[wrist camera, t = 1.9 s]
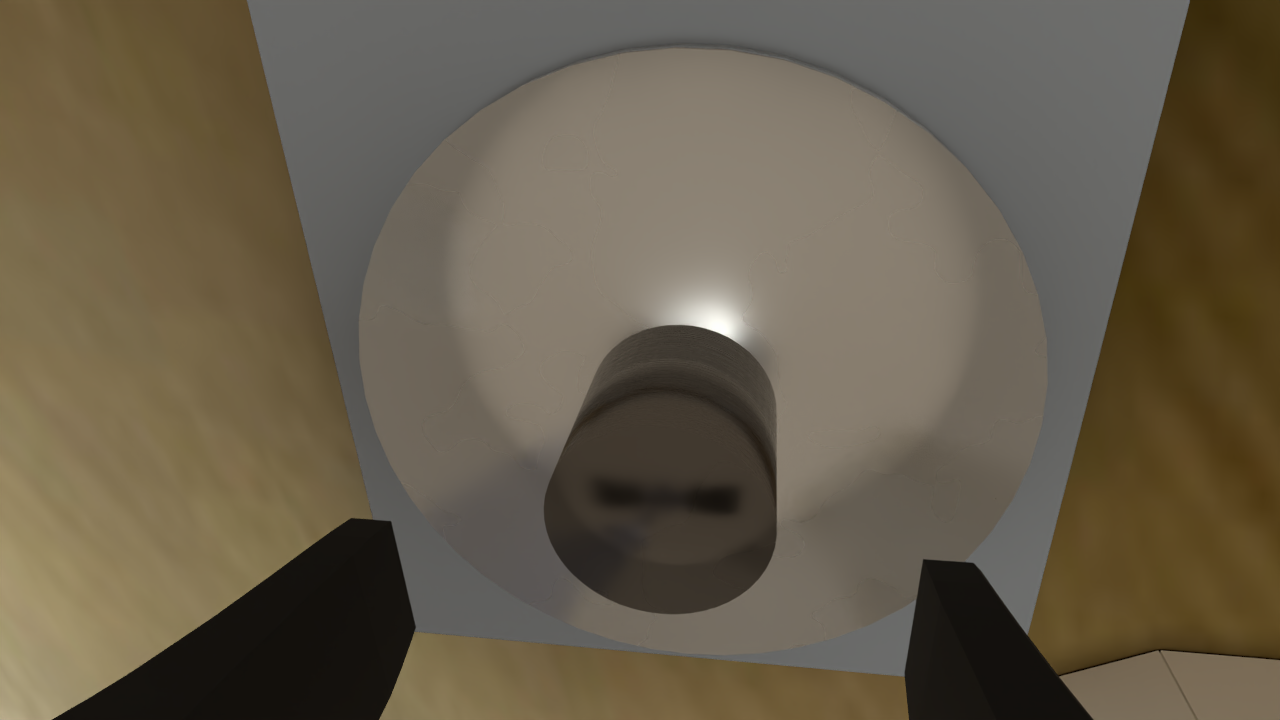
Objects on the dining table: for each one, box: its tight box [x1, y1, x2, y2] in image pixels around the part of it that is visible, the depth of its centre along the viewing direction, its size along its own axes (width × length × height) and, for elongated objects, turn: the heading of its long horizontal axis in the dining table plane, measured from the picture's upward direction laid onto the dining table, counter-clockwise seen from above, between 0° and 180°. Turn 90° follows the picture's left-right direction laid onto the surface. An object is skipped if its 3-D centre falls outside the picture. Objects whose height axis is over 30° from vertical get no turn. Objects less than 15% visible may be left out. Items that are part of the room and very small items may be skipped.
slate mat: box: [247, 0, 1190, 676], centre depth 16 cm, size 15×15×1 cm
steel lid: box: [359, 43, 1048, 655], centre depth 14 cm, size 13×13×4 cm
